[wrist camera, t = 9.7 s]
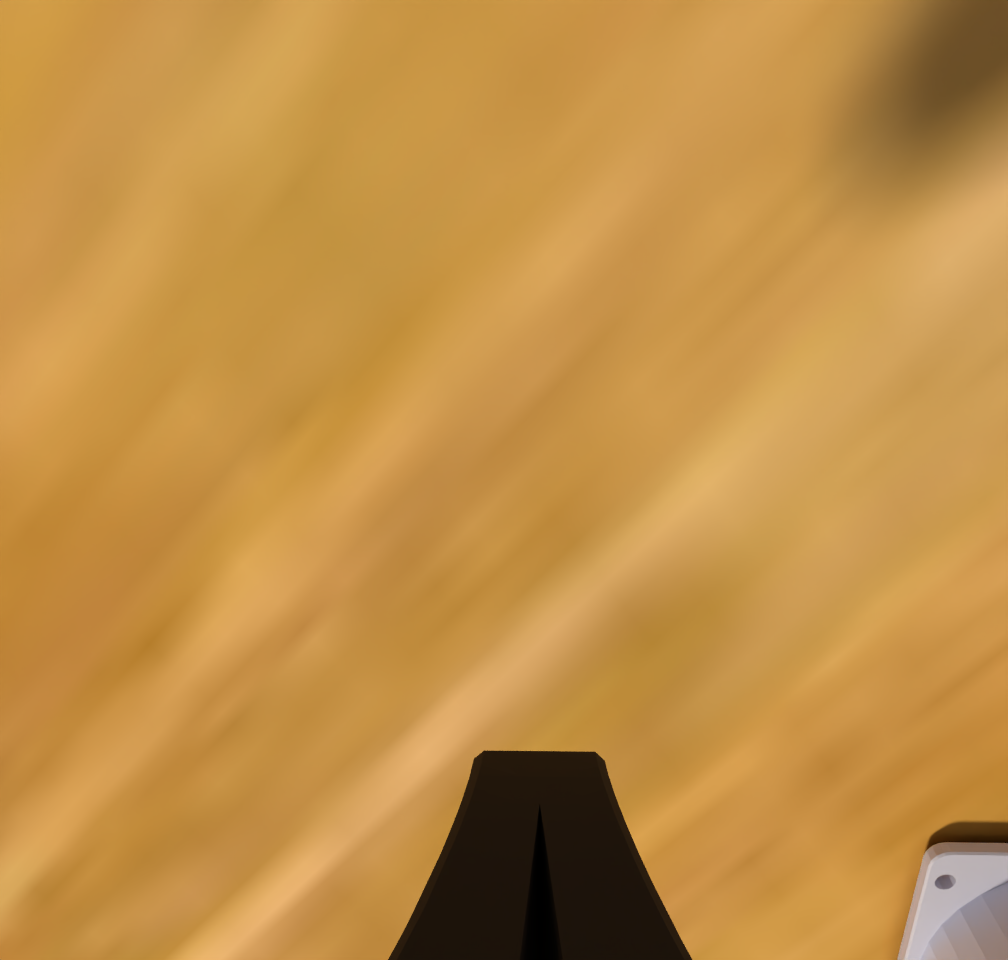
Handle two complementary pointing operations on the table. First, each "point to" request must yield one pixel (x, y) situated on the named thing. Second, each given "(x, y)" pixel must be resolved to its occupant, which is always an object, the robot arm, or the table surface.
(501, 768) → the robot arm
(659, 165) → the table surface
